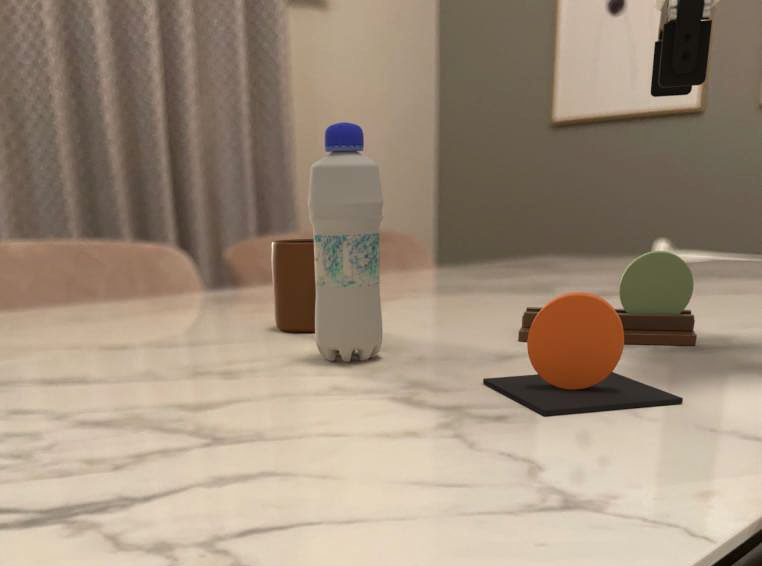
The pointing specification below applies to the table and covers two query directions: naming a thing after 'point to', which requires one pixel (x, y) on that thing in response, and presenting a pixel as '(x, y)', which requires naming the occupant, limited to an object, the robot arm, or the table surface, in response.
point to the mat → (580, 394)
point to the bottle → (346, 246)
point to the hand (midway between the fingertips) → (675, 91)
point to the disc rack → (639, 327)
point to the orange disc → (575, 341)
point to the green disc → (656, 284)
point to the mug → (294, 284)
